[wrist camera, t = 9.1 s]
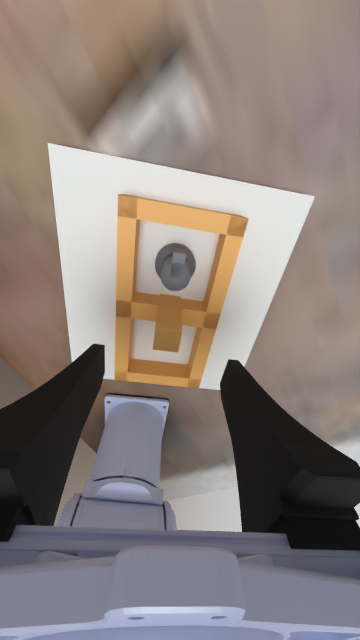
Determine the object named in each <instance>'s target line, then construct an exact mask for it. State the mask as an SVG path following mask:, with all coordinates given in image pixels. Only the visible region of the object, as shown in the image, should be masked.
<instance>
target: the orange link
mask: <svg viewBox="0 0 360 640" xmlns="http://www.w3.org/2000/svg"><path fill="white" fill-rule="evenodd" d="M140 220H144V221H150V222H156V223H162V224H167V225H173V226H179V227H185V228H190V229H196V230H202V231H208V232H213V233H219V234H220V235H219V239H218V244H217V248H216V252H215V256H214V260H213V264H212V268H211V272H210V277H209V281H208V285H207V289H206V293H205V297H204V301H197V300H190V299H183V298H181V297H180V296H173V295H166V294H160V295H155V294H148V293H141V292H135V291H136V276H137V261H138V246H139V231H140ZM248 220H249V218H246V217H244V216H241V215H236V214H230V213H225V212H219V211H214V210H209V209H203V208H198V207H192V206H187V205H181V204H176V203H171V202H165V201H160V200H154V199H149V198H143V197H138V196H133V195H127V194H118V217H117V271H116V325H115V379H114V380H120V381H130V382H140V383H150V384H160V385H170V386H181V387H191V388H199V386H200V383H201V379H202V376H203V372H204V369H205V366H206V362H207V359H208V355H209V352H210V349H211V345H212V342H213V338H214V335H215V332H216V328H217V325H218V322H219V318H220V315H221V311H222V308H223V305H224V301H225V298H226V294H227V291H228V288H229V284H230V281H231V277H232V274H233V271H234V267H235V264H236V260H237V257H238V254H239V250H240V247H241V244H242V240H243V237H244V233H245V230H246V227H247V223H248ZM134 319H139V320H147V321H155V322H156V326H155V334H154V341H153V349H152V350H160V351H169V352H177V353H178V351H179V346H180V341H181V336H182V325H186V326H194V327H197V330H196V335H195V339H194V343H193V347H192V351H191V355H190V359H189V364H188V365H187V364H178V363H169V362H160V361H151V360H141V359H132V358H131V351H132V336H133V321H134Z"/></svg>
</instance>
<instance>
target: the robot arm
mask: <svg viewBox="0 0 360 640" xmlns="http://www.w3.org/2000/svg"><path fill="white" fill-rule="evenodd" d="M104 374H105V345H101V344H92V345H91V346H90V347H89V348H88V349H87V350H86V351H85V352H84V353H82V354H81V355H80V356H79V357H78V358H77V359H76V360H74V361H73V362H72V363H71V364H70V365H69V366H67V367H66V368H65V369H64V370H62V371H61V372H60V373H58V374H57V375H56V376H55V377H53V378H52V379H50V380H49V381H48V382H46V383H45V384H43V385H42V386H40V387H39V388H37V389H36V390H34V391H33V392H31V393H29V394H28V395H26V396H24V397H22V398H21V399H19V400H17V401H15V402H14V403H12V404H10V405H8V406H6V407H4V408H2V409H0V640H360V528H359V526H358V524H357V522H356V520H358V519H359V516H358V515H357V513H356V511H355V509H354V507H355V506H356V505H357V504H359V503H360V467H359V465H358V464H357V462H356V461H354V460H352V459H351V458H349V457H348V456H346V455H344V454H343V453H341V452H340V451H338V450H336V449H335V448H333V447H332V446H330V445H329V444H327V443H326V442H324V441H323V440H321V439H320V438H318V437H317V436H316V435H314V434H313V433H312V432H310V431H309V430H308V429H306V428H305V427H304V426H303V425H301V424H300V423H299V422H297V421H296V420H295V419H294V418H293V417H291V416H290V415H289V414H288V413H287V412H286V411H285V410H284V409H282V408H281V407H280V406H279V405H278V404H277V403H276V402H275V401H274V400H273V399H272V398H271V397H270V396H269V395H268V394H267V393H266V392H265V391H264V389H263V388H262V387H261V386H260V385H259V384H258V383H257V382H256V380H255V379H254V378H253V377H252V376H251V375H250V373H249V372H248V371H247V370H246V369H245V367H244V366H243V365H242V364H241V363H240V362H239V360H232V359H228V362H227V365H226V367H225V370H224V373H223V376H222V379H221V381H220V391H221V399H222V404H223V408H224V412H225V416H226V420H227V424H228V428H229V432H230V436H231V440H232V445H233V452H234V459H235V466H236V473H237V481H238V491H239V500H240V511H241V522H242V532H224V531H193V530H176V520H175V515H174V511H173V510H172V508H171V506H170V504H169V502H167V501H163V489H159V483H160V463H161V443H162V436H163V431H164V427H165V422H166V417H167V412H168V407H169V401H168V400H164V399H153V398H142V397H131V396H120V395H106V396H105V428H104V431H103V434H102V438H101V441H100V445H99V448H98V451H97V455H96V458H95V462H94V465H93V469H92V472H91V475H90V479H89V481H87V482H86V484H85V487H84V491H83V494H81V493H75V494H74V495H73V497H71V498H70V499H69V500H68V501H67V502H66V504H65V506H64V508H63V510H62V512H61V515H60V518H59V520H58V523H57V526H53V525H54V522H55V517H56V514H57V511H58V507H59V504H60V500H61V496H62V493H63V490H64V486H65V483H66V479H67V476H68V472H69V469H70V466H71V462H72V460H73V456H74V453H75V450H76V447H77V444H78V441H79V438H80V435H81V432H82V429H83V427H84V424H85V422H86V420H87V417H88V415H89V413H90V411H91V408H92V406H93V404H94V401H95V399H96V397H97V394H98V392H99V390H100V387H101V384H102V381H103V377H104Z"/></svg>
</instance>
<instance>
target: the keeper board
mask: <svg viewBox="0 0 360 640" xmlns="http://www.w3.org/2000/svg"><path fill="white" fill-rule="evenodd" d="M48 150H49V159H50V168H51V177H52V186H53V195H54V204H55V213H56V222H57V231H58V240H59V249H60V258H61V267H62V276H63V286H64V295H65V304H66V313H67V322H68V331H69V340H70V349H71V358H72V362H73V361H74V360H76V359H77V358H78V357H79V356H80V355H81V354H82V353H84V352H85V351H86V350H87V349H88V348H89V347H90V346H91V345H92V344H101V345H105V374H104V377H103V378H104V379H115V325H116V271H117V217H118V194H127V195H133V196H138V197H143V198H149V199H154V200H160V201H165V202H171V203H176V204H181V205H187V206H192V207H198V208H203V209H209V210H214V211H219V212H225V213H230V214H236V215H241V216H244V217H246V218H249V220H248V223H247V227H246V230H245V233H244V237H243V240H242V244H241V247H240V250H239V254H238V257H237V260H236V264H235V267H234V271H233V274H232V277H231V281H230V284H229V288H228V291H227V294H226V298H225V301H224V305H223V308H222V311H221V315H220V318H219V322H218V325H217V328H216V332H215V335H214V338H213V342H212V345H211V349H210V352H209V355H208V359H207V362H206V366H205V369H204V372H203V376H202V379H201V383H200V386H199V388H204V389H214V390H220V381H221V379H222V376H223V373H224V370H225V367H226V365H227V362H228V359H232V360H239V362H240V363H241V364H242V365H243V366H245V364H246V361H247V359H248V357H249V354H250V352H251V349H252V347H253V344H254V342H255V340H256V337H257V335H258V332H259V330H260V328H261V325H262V323H263V320H264V318H265V316H266V313H267V311H268V308H269V306H270V303H271V301H272V299H273V296H274V294H275V291H276V289H277V287H278V284H279V282H280V279H281V277H282V275H283V272H284V270H285V267H286V265H287V262H288V260H289V258H290V255H291V253H292V250H293V248H294V246H295V243H296V241H297V238H298V236H299V233H300V231H301V229H302V226H303V224H304V221H305V219H306V217H307V214H308V212H309V209H310V207H311V205H312V202H313V200H314V197H315V196H310V195H305V194H300V193H295V192H290V191H285V190H280V189H275V188H270V187H265V186H260V185H255V184H250V183H245V182H240V181H235V180H230V179H225V178H220V177H215V176H210V175H205V174H200V173H195V172H190V171H185V170H180V169H175V168H170V167H165V166H160V165H155V164H150V163H145V162H140V161H135V160H130V159H125V158H120V157H115V156H110V155H105V154H100V153H95V152H90V151H85V150H80V149H75V148H70V147H65V146H60V145H55V144H50V143H48ZM219 235H220V234H219V233H213V232H208V231H202V230H196V229H190V228H185V227H179V226H173V225H167V224H162V223H156V222H150V221H144V220H140V231H139V246H138V261H137V276H136V291H135V292H141V293H148V294H155V295H160V294H166V295H173V296H180V297H181V298H183V299H190V300H197V301H204V297H205V293H206V289H207V285H208V281H209V277H210V272H211V268H212V264H213V260H214V256H215V252H216V248H217V244H218V239H219ZM155 326H156V322H155V321H147V320H139V319H134V321H133V336H132V351H131V358H132V359H141V360H151V361H160V362H169V363H178V364H187V365H188V364H189V359H190V355H191V351H192V347H193V343H194V339H195V335H196V330H197V327H194V326H186V325H182V336H181V341H180V346H179V351H178V353H177V352H169V351H160V350H152V349H153V341H154V334H155Z"/></svg>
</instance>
